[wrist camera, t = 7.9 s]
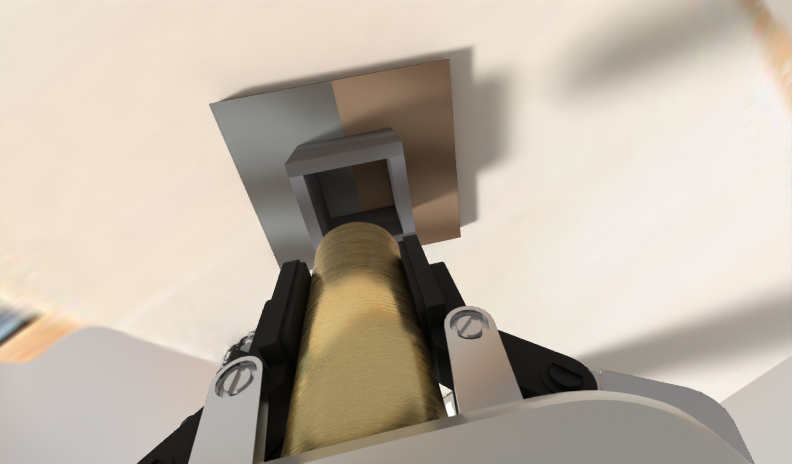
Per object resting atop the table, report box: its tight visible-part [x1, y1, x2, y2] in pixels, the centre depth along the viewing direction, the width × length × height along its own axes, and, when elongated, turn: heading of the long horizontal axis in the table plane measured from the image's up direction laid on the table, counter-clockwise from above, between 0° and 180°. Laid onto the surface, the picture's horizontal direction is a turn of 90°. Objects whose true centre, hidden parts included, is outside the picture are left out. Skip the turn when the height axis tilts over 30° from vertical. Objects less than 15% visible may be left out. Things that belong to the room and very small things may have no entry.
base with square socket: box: [209, 59, 461, 270], centre depth 22 cm, size 14×16×6 cm
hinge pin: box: [281, 222, 448, 458], centre depth 9 cm, size 4×4×9 cm
